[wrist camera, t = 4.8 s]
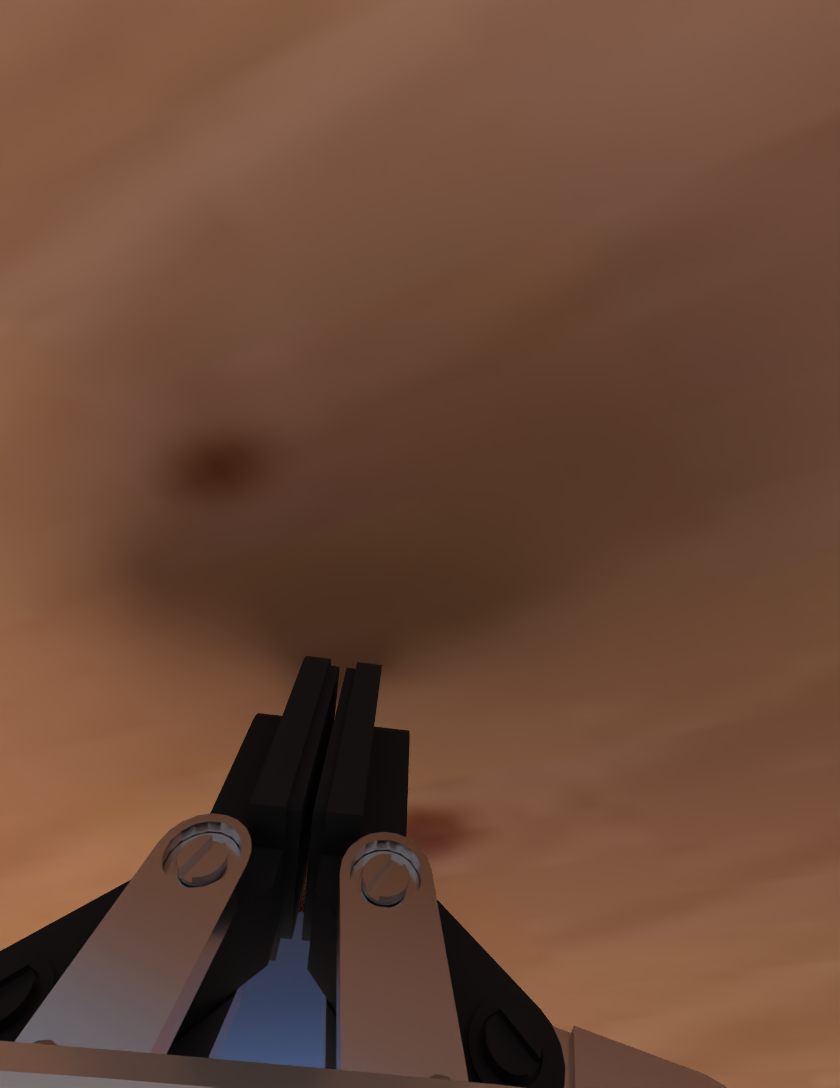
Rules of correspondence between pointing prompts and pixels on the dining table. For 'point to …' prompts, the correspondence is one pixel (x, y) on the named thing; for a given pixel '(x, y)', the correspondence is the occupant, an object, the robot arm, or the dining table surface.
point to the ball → (280, 1011)
